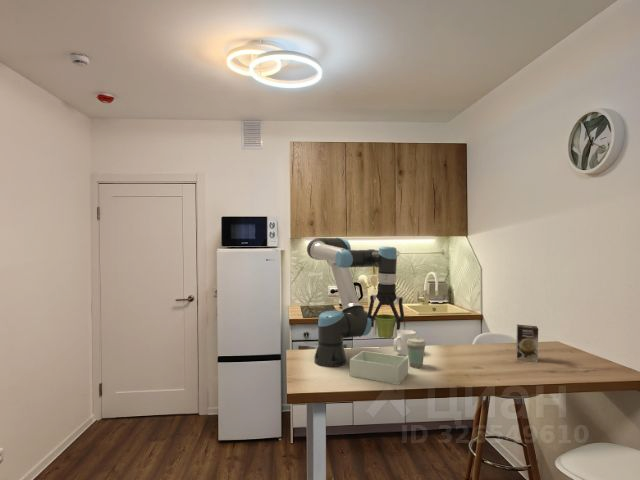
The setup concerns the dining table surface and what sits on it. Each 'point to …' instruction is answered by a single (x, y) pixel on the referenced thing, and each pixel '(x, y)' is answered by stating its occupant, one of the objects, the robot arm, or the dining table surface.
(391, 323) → the plant pot
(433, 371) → the dining table surface
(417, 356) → the coffee cup
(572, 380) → the dining table surface
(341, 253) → the robot arm
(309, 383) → the dining table surface
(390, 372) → the box
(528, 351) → the coffee box
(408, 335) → the mug
